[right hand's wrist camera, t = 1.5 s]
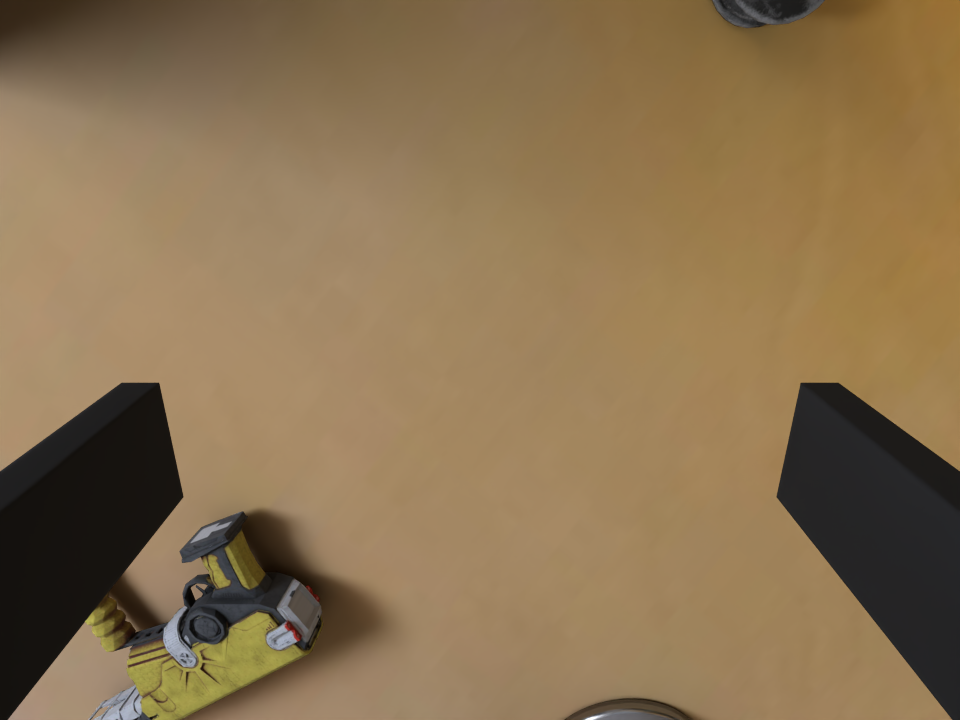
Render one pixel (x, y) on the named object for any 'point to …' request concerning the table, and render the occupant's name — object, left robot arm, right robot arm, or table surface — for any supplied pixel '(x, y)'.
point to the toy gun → (210, 631)
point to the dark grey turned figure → (764, 11)
